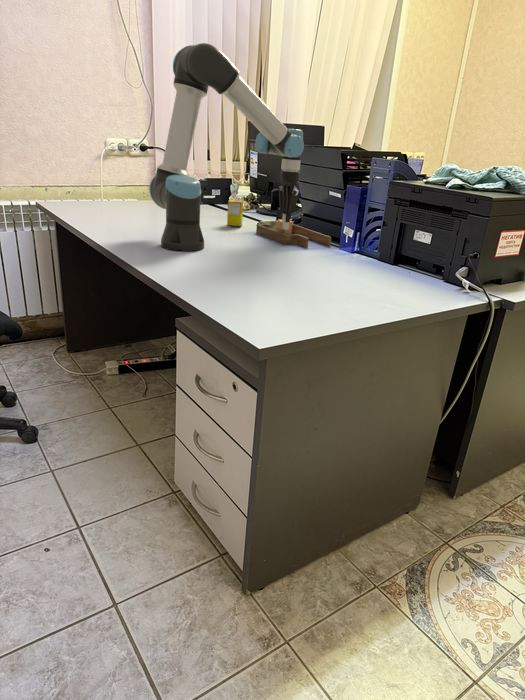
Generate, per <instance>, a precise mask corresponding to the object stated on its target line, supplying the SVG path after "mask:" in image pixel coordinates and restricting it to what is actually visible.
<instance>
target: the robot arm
mask: <svg viewBox="0 0 525 700" xmlns="http://www.w3.org/2000/svg"><path fill="white" fill-rule="evenodd" d="M172 70H173V74H174V78H173V87H174V89H175V92H176V93H175V97H174V98H175V99H174V103H173V110H172V114H171V118H170V124H169V129H168V134H167V139H166V145H165V149H164V155H163V159H162V163H161V164H160V165H158V166H157V167H156V172H155V176H154V177H153V178H152V179H151V181H150V183H149V188H148V189H149V190H148V191H149V192H148V193H149V195H150V197H151V200H152V201H153V202H154V204H155V205H157V206H158V207H160V209H164V210H165V226H164V229H163V232H162V236H161V239H160V246H161V247H162V248H163V247H165V248H164V249H166V248H168V249H167V250H170V249H173V250H172V251H176V250H182V251H181V252H193V251H192V250H196V251H200V250H199V249H201V250H203V249H204V248H205V238H204V236H203V232H202V228H201V197H202V196H201V194H202V189H201V182H200V180H199V179H197V178H196V177H193V176H190V174H189V172H188V170H187V169H188V163H189V158H190V155H191V151H192V150H191V148H192V145H193V139H194V135H195V129H196V125H197V122H198V121H197V120H198V116H199V111H200V107H201V101H202V99H204V98H205V97H206V96H207V95H208V91H209V90H208V89H209V87H210V88H212V89H213V90H214V91H216V93H217V94H219V95H224V96H225V97H226V98H227V99H228V101H230V102H231V103H232V104H233V106H235V107H236V109H238V111H240V113H242V115H243V116H244V117H245V118H246V119H247V120H248V121H249V122H250V123H251V124H252V125H253V126H254V127H255V128H256V129H257V130H258V131H259V133H258V134H257V135H256V137H255V144H254V145H255V150H256V152H258V153H259V154H264V155H268V154H269V155H276V156H280V157H282V158H281V168H280V169H281V171H280V180H281V182H282V183H281V186H278V187H277V190H278V205H279V211H280V212H281V214H282V217H281V220H282V229H285V230H289V222H290V221H291V216H292V214H295V212H296V211H295V210H296V206H297V202H298V198H299V196H300V193H301V191H300V190H298V187H297V186H298V185H297V183H299V181H300V175H301V173H300V170H301V162H302V161H301V160H302V153H303V152H304V148H305V142H304V132H303V130H302V129H298V128H297V129H295V128H287V126H286V125H285V124H284V123H283V122H282V121H281V120H280V119H279V118H278V116H277V115H275V114H274V112H273V111H272V110H271V109H270V108H269V107H268V105H266V103H265V102H264V101H263V100H262V99H261V98H260V97H259V96H258V95H257V93H256V92H255V91H254V90H253V89H252V88H251V87H250V86H249V85H248V83H246V81H245V80H244V78H242V77H241V75H240V70H239V69H238V68H237V67H236V65H235V64H234V63H233V62H232V61H231V60H230V59H229V58H228V57H227V56H226V55H225V54H224V53H223V52H222V51H221V50H220V49H218V47H216V46H214V45H213V44H211V43H210V44H209V43H208V42H207V43H206V42H203V43H197V44H194V45H192V44H191V45H188V46H185V47H183V48H181V49H180V50H178V52H177V53H176V54H175V56H174V58H173V60H172Z"/></svg>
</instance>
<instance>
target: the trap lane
mask: <svg viewBox="0 0 525 700" xmlns="http://www.w3.org/2000/svg"><path fill="white" fill-rule="evenodd" d="M277 224H278V220H261V221H259V224H256V232H255V233H256V234H258V235H260V236H262V237H265V238H268V239H270V240H272V241H275V242H278V243H280V244H283V245H298V246H301V247H304V248H308V247H309V240H311V241H314V242H316V243H318V244H323V245H325V246H328V247H331V242H332V237H331V236H330V235H326V234H323V233H321V232H318V231H316V230H312V229H309V228H306V227H303V226H300V225H297V224H294V223H292V233H291V234H286V233H287V230H285V229H282V228H277Z"/></svg>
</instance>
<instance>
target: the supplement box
mask: <svg viewBox="0 0 525 700" xmlns="http://www.w3.org/2000/svg"><path fill="white" fill-rule="evenodd" d="M243 213H244V200H242V199H241V200H239V199H231V198H230V199H229V200H228V201H227V217H226V218H227V220H226V223H227V224H226V226H227V227H230V228H241V227H242V226H243V216H244V214H243Z"/></svg>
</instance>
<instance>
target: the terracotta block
mask: <svg viewBox="0 0 525 700" xmlns="http://www.w3.org/2000/svg"><path fill="white" fill-rule="evenodd" d="M277 221H278V224H277V228H282V219H277ZM292 224H294V222H293V221H292V220H290V222H289V230H287V233H286V235H292V234H293V233H292Z"/></svg>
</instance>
